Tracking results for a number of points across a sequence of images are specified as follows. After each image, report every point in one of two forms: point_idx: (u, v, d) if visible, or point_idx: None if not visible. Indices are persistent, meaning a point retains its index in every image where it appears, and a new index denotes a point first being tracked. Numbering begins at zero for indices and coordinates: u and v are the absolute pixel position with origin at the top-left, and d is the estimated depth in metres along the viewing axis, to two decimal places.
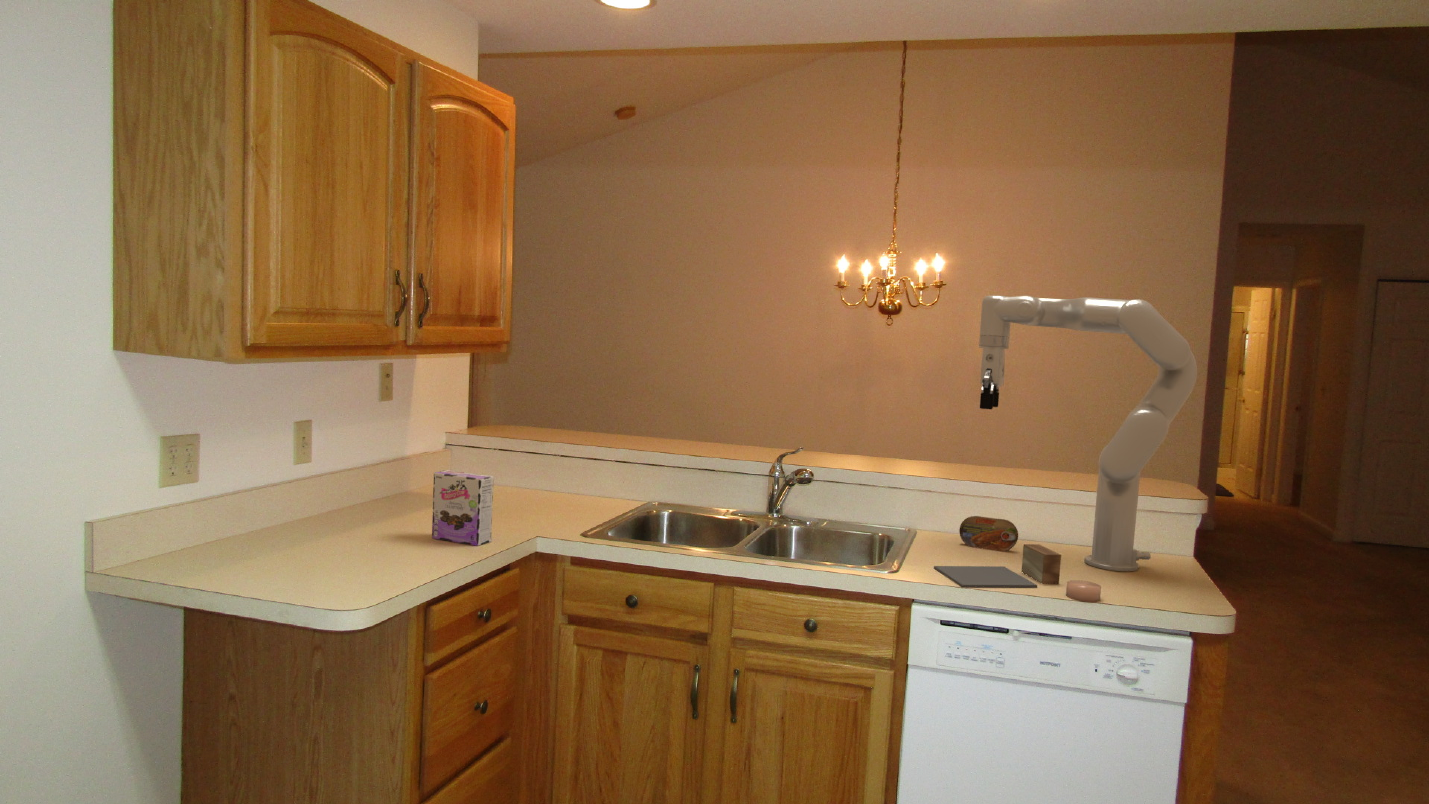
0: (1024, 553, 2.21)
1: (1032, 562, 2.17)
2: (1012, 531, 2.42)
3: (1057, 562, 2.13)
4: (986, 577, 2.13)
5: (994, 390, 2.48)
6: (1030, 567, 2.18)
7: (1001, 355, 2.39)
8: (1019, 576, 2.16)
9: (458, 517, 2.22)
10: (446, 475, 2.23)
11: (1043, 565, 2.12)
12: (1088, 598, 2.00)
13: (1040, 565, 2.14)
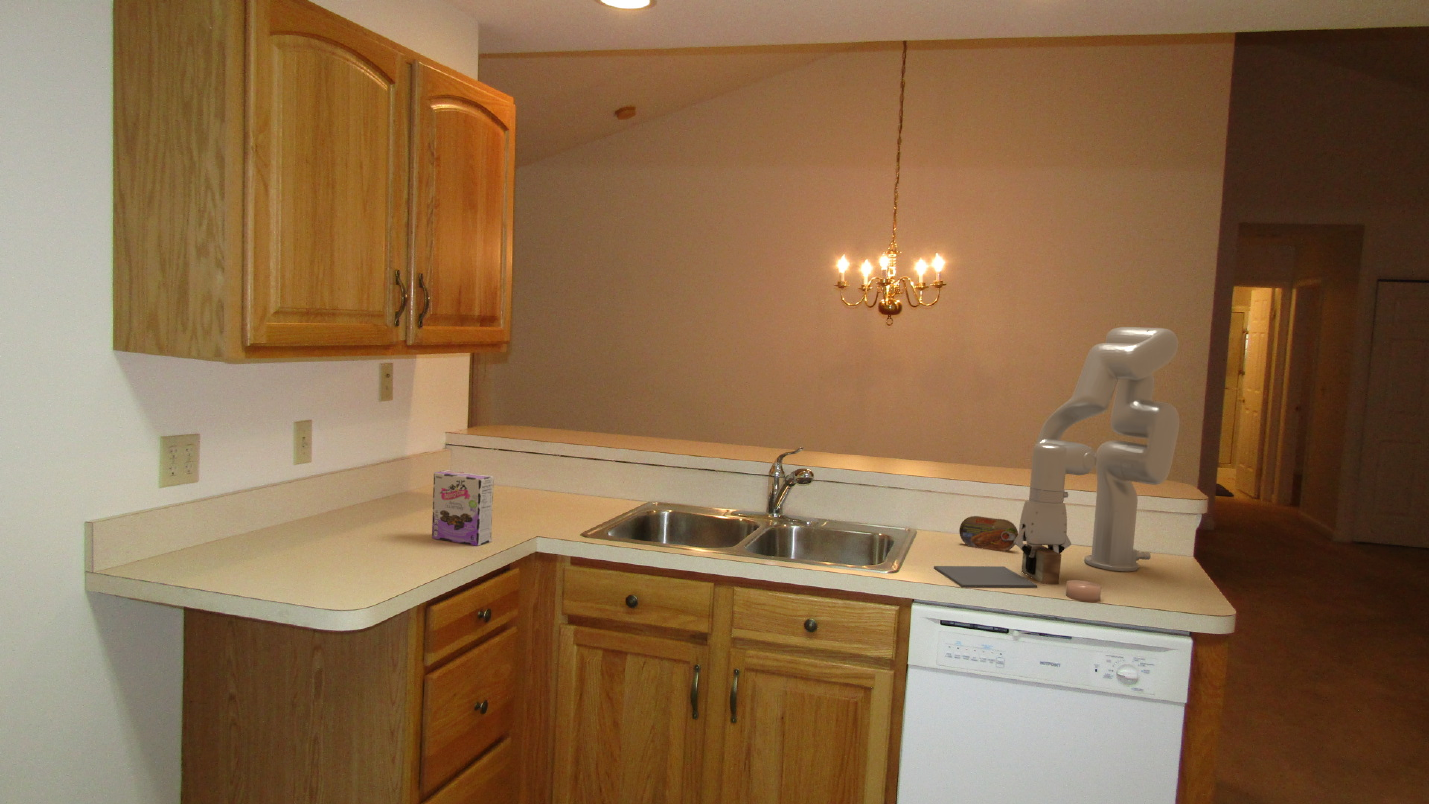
0: None
1: None
2: (1012, 531, 2.42)
3: (1057, 562, 2.13)
4: (986, 577, 2.13)
5: None
6: None
7: None
8: (1019, 576, 2.16)
9: (458, 517, 2.22)
10: (446, 475, 2.23)
11: (1043, 565, 2.12)
12: (1088, 598, 2.00)
13: (1040, 564, 2.14)
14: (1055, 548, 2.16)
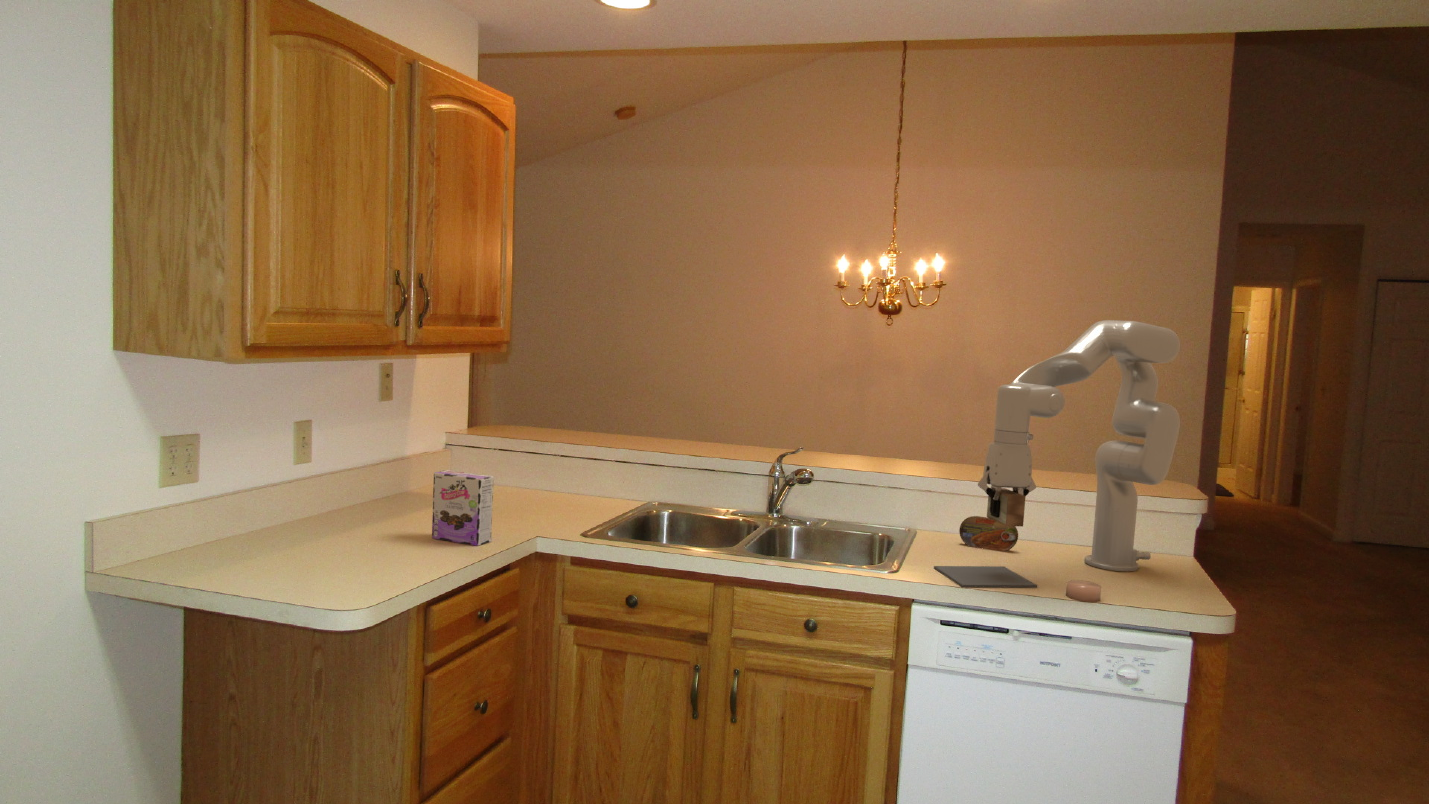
0: None
1: None
2: (1012, 531, 2.42)
3: (1021, 503, 2.10)
4: (986, 577, 2.13)
5: None
6: None
7: None
8: (1019, 576, 2.16)
9: (458, 517, 2.22)
10: (446, 475, 2.23)
11: (1007, 506, 2.10)
12: (1088, 598, 2.00)
13: (1004, 506, 2.11)
14: (1020, 491, 2.13)
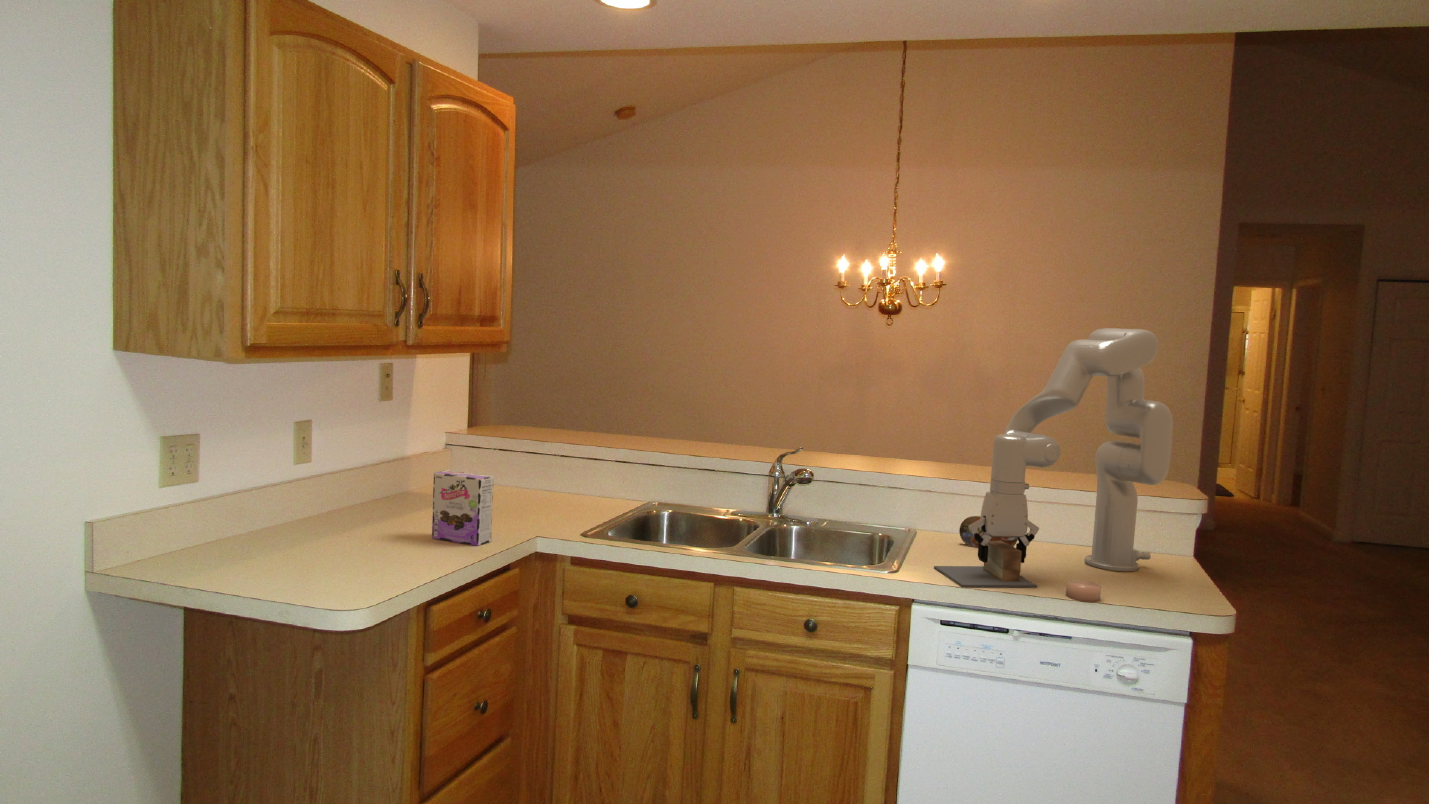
0: None
1: (993, 559, 2.15)
2: None
3: (1017, 558, 2.11)
4: (986, 577, 2.13)
5: None
6: (991, 564, 2.16)
7: None
8: None
9: (458, 517, 2.22)
10: (446, 475, 2.23)
11: (1003, 562, 2.11)
12: (1088, 598, 2.00)
13: (1000, 561, 2.12)
14: (1022, 538, 2.15)
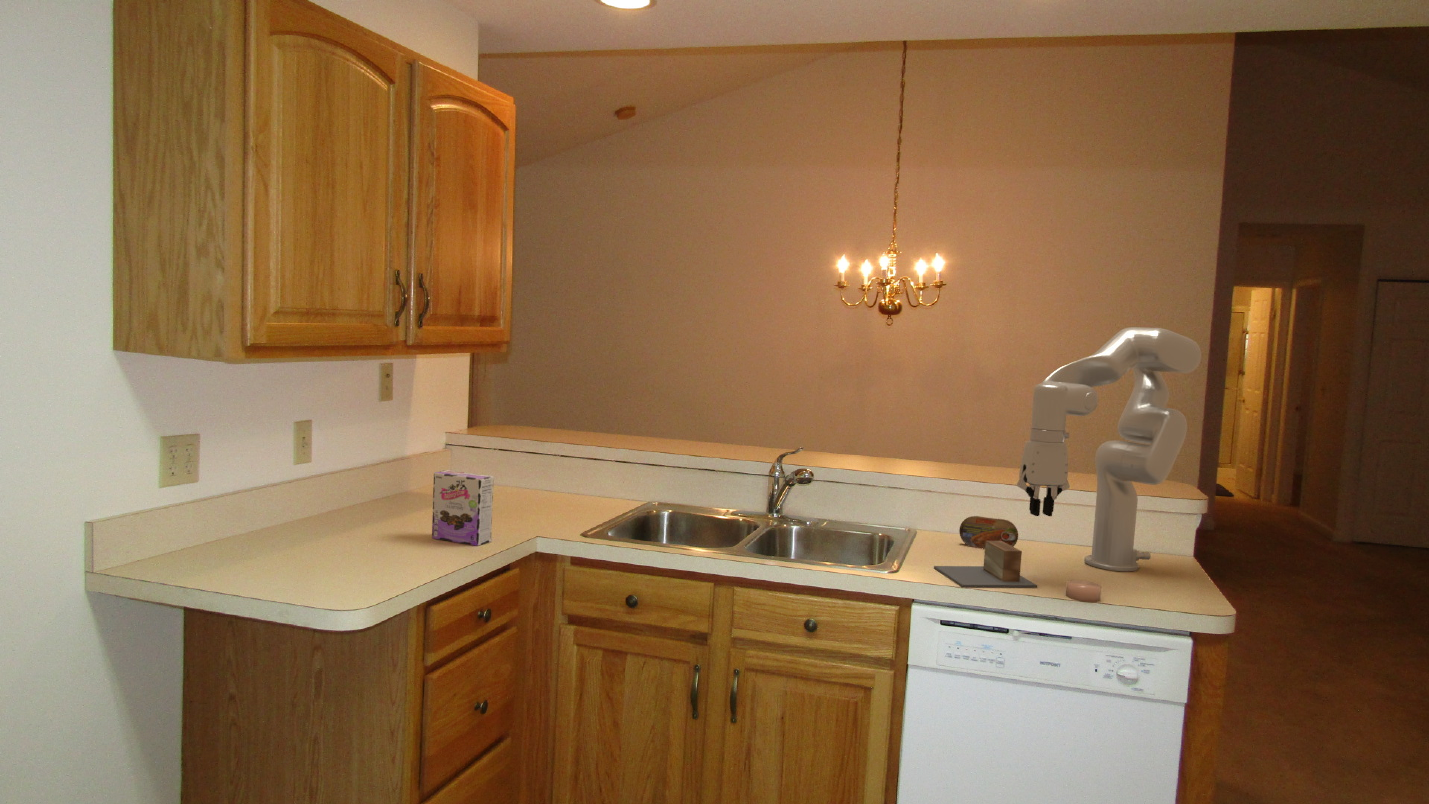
0: (986, 550, 2.19)
1: (993, 559, 2.15)
2: (1012, 531, 2.42)
3: (1017, 558, 2.11)
4: (986, 577, 2.13)
5: None
6: (991, 564, 2.16)
7: None
8: None
9: (458, 517, 2.22)
10: (446, 475, 2.23)
11: (1003, 562, 2.11)
12: (1087, 598, 2.00)
13: (1000, 561, 2.12)
14: (1054, 489, 2.15)
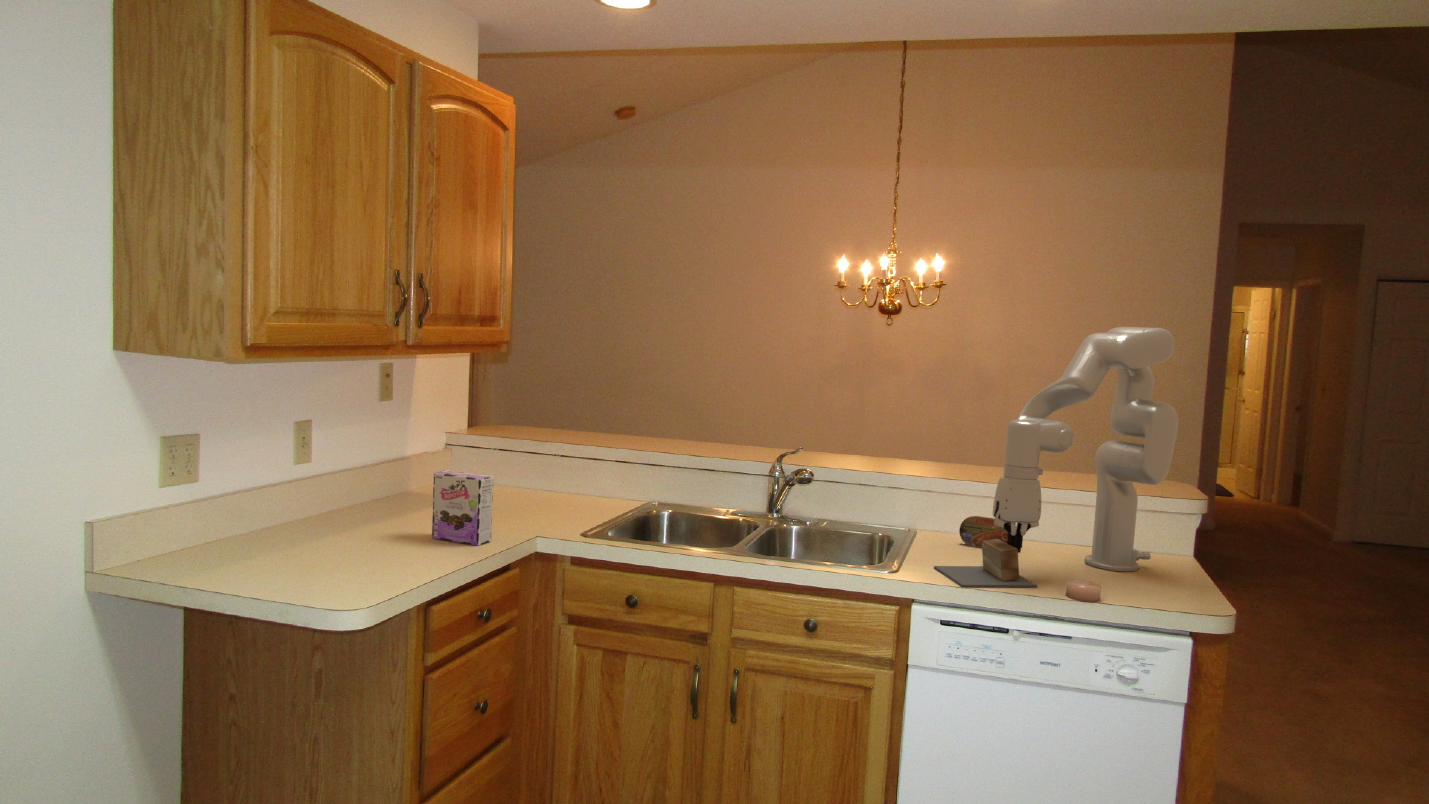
0: (983, 550, 2.19)
1: (991, 559, 2.15)
2: None
3: (1014, 557, 2.11)
4: (986, 577, 2.13)
5: None
6: (990, 564, 2.16)
7: None
8: (1019, 576, 2.16)
9: (458, 517, 2.22)
10: (446, 475, 2.23)
11: (1001, 562, 2.11)
12: (1087, 598, 2.00)
13: (998, 562, 2.12)
14: (1024, 525, 2.14)
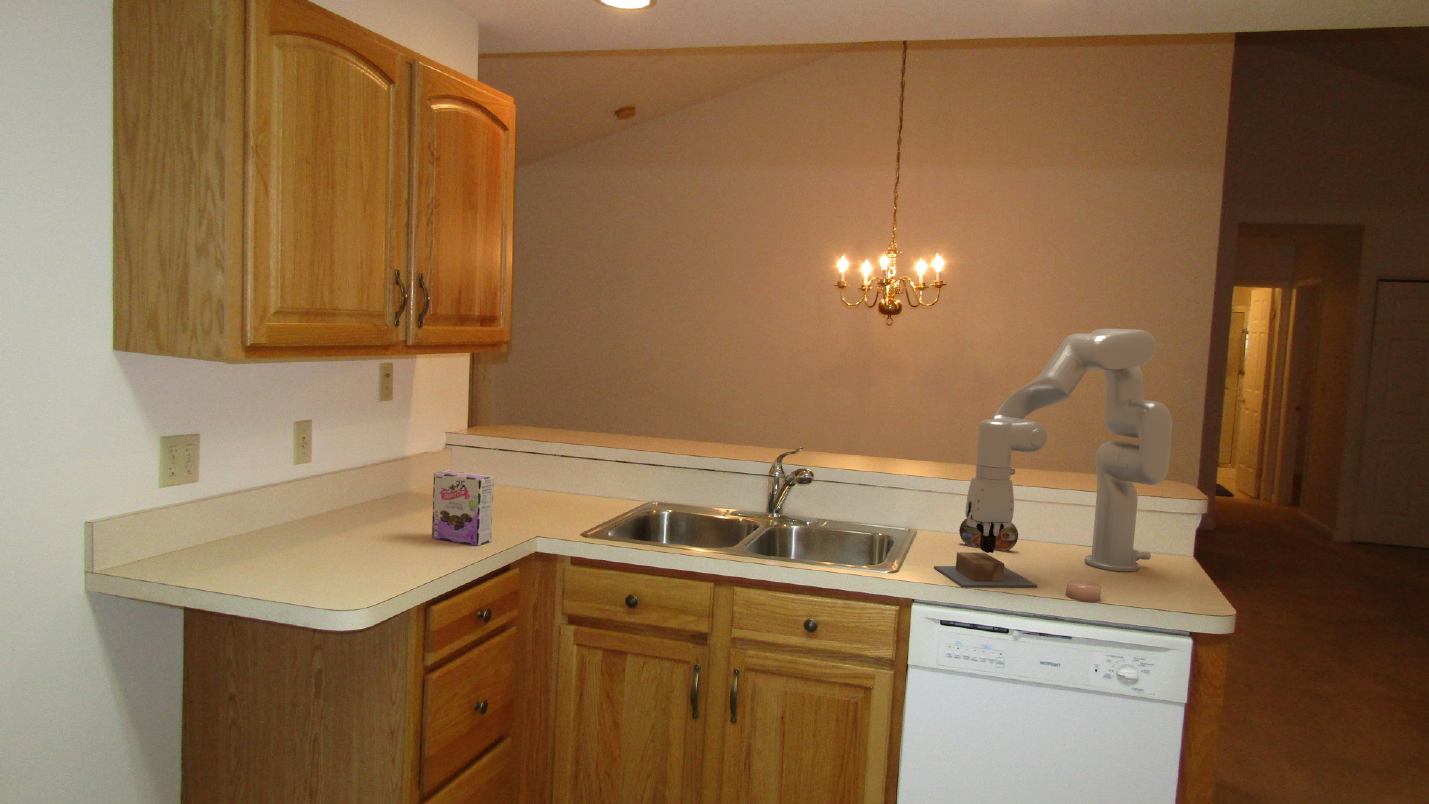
0: None
1: None
2: (1012, 531, 2.42)
3: (982, 566, 2.10)
4: None
5: None
6: None
7: None
8: (1019, 576, 2.16)
9: (458, 517, 2.22)
10: (446, 475, 2.23)
11: None
12: (1087, 598, 2.00)
13: None
14: (997, 526, 2.13)
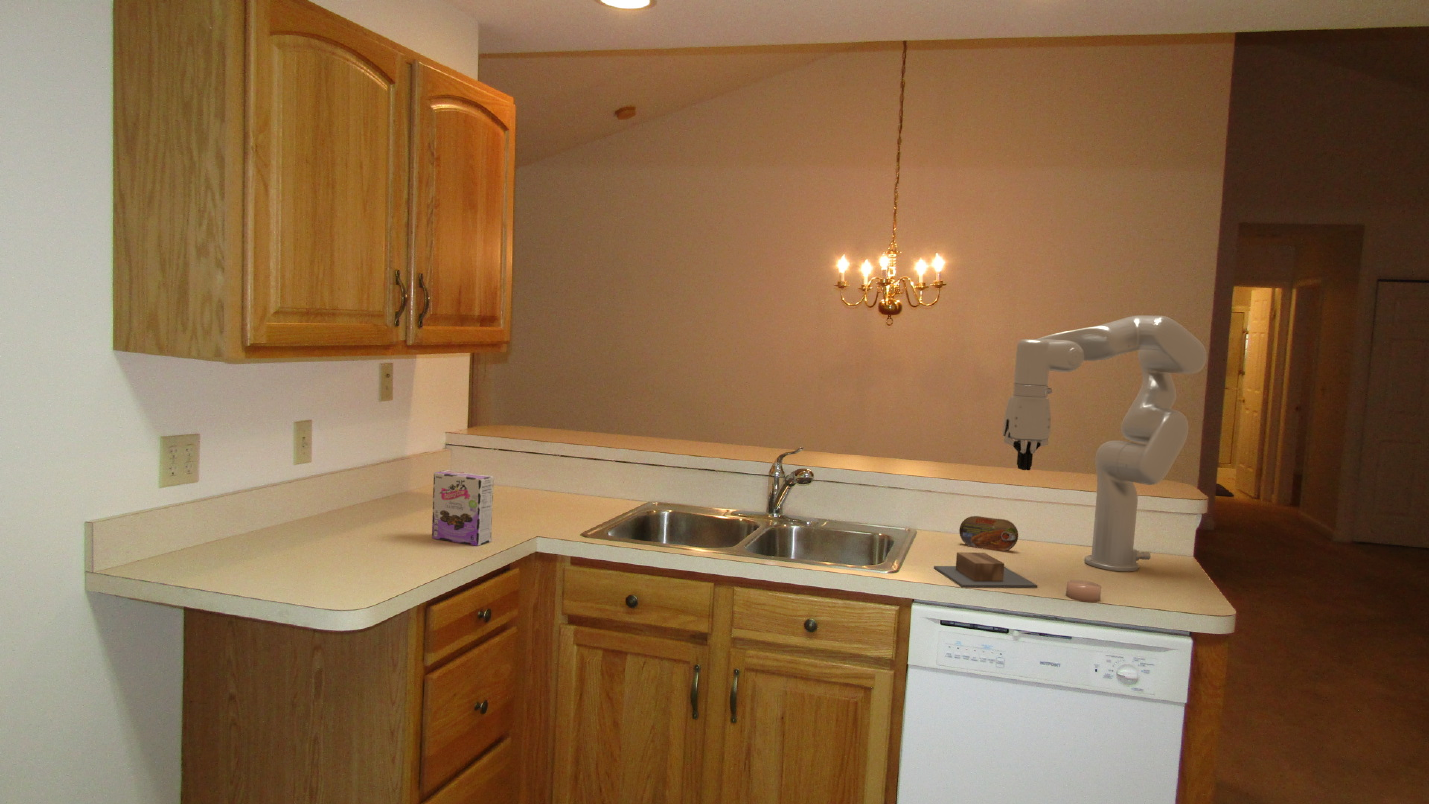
0: None
1: None
2: (1012, 531, 2.42)
3: (982, 566, 2.10)
4: None
5: None
6: None
7: None
8: (1019, 576, 2.16)
9: (458, 517, 2.22)
10: (446, 475, 2.23)
11: None
12: (1087, 598, 2.00)
13: None
14: (1034, 443, 2.17)
